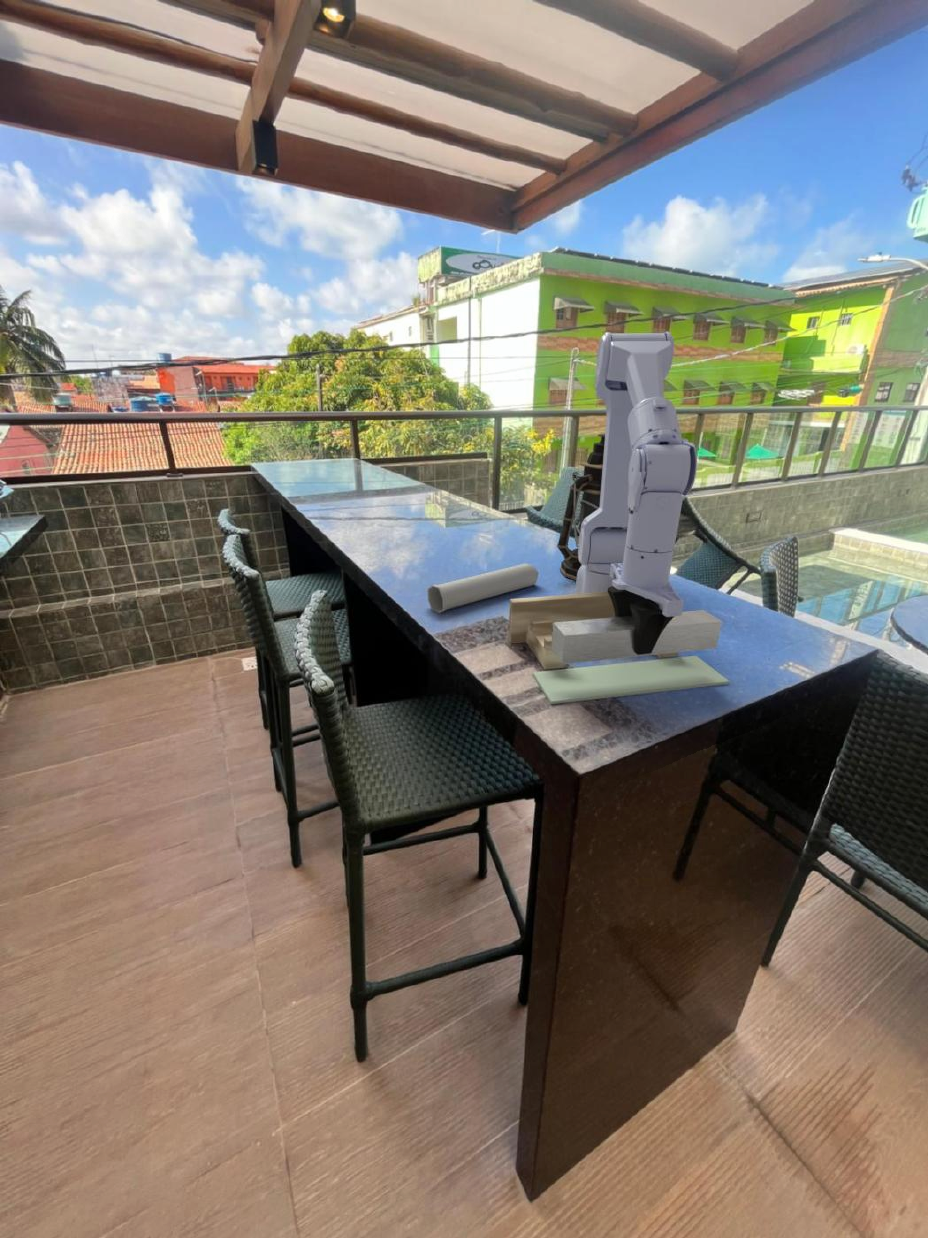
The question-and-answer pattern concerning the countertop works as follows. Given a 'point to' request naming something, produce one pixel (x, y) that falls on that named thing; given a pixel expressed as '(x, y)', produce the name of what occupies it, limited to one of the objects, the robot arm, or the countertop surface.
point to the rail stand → (555, 620)
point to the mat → (626, 679)
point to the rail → (631, 637)
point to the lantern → (582, 507)
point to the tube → (481, 587)
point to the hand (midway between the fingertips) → (634, 645)
